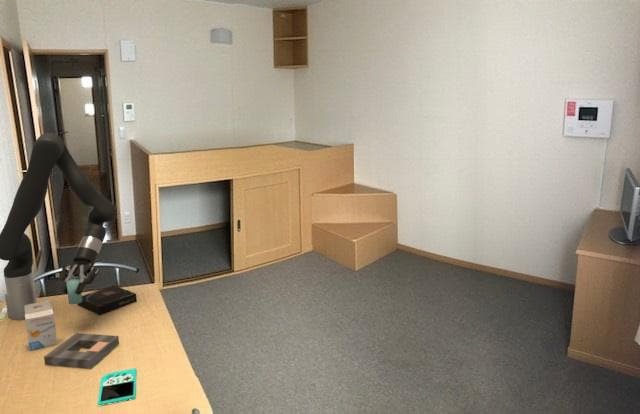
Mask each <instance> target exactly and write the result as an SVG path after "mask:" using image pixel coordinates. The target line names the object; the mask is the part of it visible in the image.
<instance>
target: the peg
mask: <svg viewBox="0 0 640 414" xmlns="http://www.w3.org/2000/svg"><path fill="white" fill-rule="evenodd" d="M70 279H71V278H70ZM66 283H67V292H68V293H67V299H68V304H69V305H77V304H78V303H81V302H82V296H83V295H82V293H83V292H82V293H80V295H77V294H76V293H75V291H76V289H77V286H78V284H79V283H80V278H79V279H78V278H76V279H71V280H68V281H67V282H66Z"/></svg>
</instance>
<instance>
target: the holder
mask: <svg viewBox="0 0 640 414" xmlns="http://www.w3.org/2000/svg"><path fill="white" fill-rule="evenodd" d="M119 345H120V340H119V335H111V334H109V335H107V334H99V333H97V334H94V333H84V332H83V333H82V332H75V333H74V334H73V335H71V336H70V337H68V338H67V339H66V340H64V341H63V342H62V343H60V344H59V345H58V346H56V347H54V349H52V350H51V351H49V352H48V353H47V354H45V355H44V356H43V359H44V365H45V366H54V367H63V368H64V367H65V368H75V369H77V368H78V369H87V370H89V369H90V370H92V369H93V368H94V367H95V366H96V365H97V364H98V363H99V362H101V361H102V360H103V359H104V358H105V357H106V356H107V355H108V354H109V353H111V352H112V351H113V350H114V349H115V348H116V347H117V346H119ZM80 349H87V350H86V351H81V350H80Z"/></svg>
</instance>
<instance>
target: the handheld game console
mask: <svg viewBox="0 0 640 414" xmlns="http://www.w3.org/2000/svg"><path fill="white" fill-rule="evenodd" d="M136 383H137V368H130V369H124V370H123V369H122V370H119V371H115V372H110V373H106V374H104V375H103V376H101V379H100V386H99V392H98V399H97V406H98V405H103V404H108V403H113V404H115V403H114V402H118V403H120V402H119V401H123V402H125V401H124V400H127V401H128V399H133V400H135V399H136V398H135V394H136V393H137V389H136V387H137V384H136ZM136 395H137V394H136ZM134 398H135V399H134ZM103 406H104V405H103Z"/></svg>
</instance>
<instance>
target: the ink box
mask: <svg viewBox="0 0 640 414" xmlns="http://www.w3.org/2000/svg"><path fill="white" fill-rule="evenodd" d="M36 306H37V308H33V307H36ZM38 306H41V307H38ZM24 310H25V319H24V320H25V327H26V334H27V335H26V336H27V341H28V348H29V351H33V350H37V349H42V348H45V347H51V346H55V345H58V338H57V331H56V330H57V329H56V320H55V315H54V310H53V308H52V301H51V300H45V301H40V302H37V303H35V304H30V305H25V306H24Z"/></svg>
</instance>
